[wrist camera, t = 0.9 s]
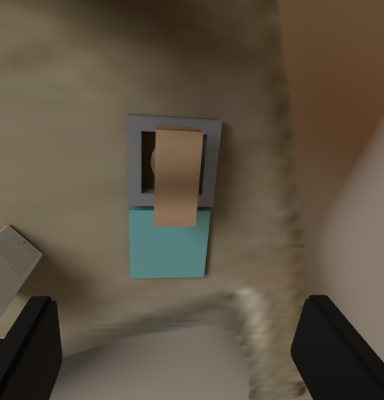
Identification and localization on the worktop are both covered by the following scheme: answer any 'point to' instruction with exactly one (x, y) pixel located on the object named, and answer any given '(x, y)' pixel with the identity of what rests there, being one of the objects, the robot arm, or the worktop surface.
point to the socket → (148, 123)
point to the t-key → (176, 175)
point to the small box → (14, 264)
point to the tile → (167, 246)
